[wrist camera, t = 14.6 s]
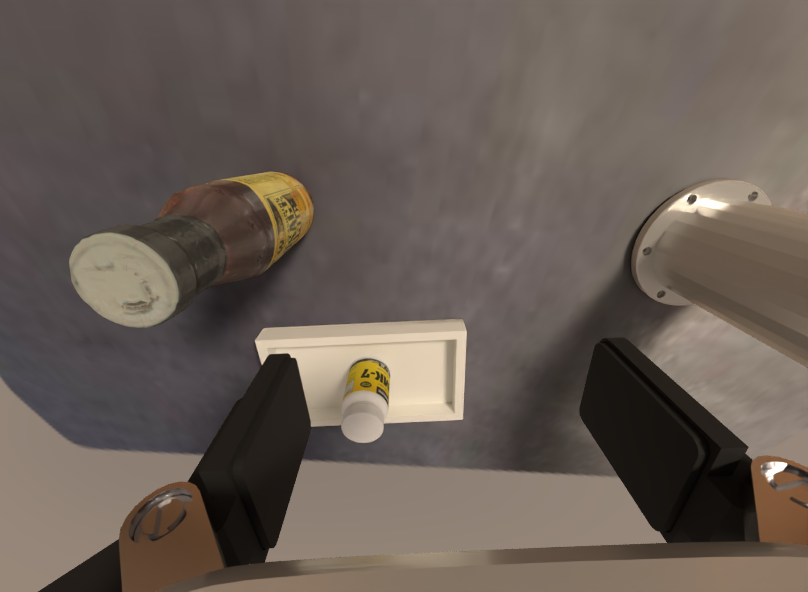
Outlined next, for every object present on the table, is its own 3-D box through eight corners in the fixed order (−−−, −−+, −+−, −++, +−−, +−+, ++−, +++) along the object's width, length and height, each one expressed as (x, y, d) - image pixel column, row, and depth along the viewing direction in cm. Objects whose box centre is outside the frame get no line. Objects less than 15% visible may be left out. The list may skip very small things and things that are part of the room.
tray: (462, 318, 36) (466, 330, 34) (459, 404, 42) (462, 419, 39) (263, 328, 36) (254, 340, 34) (286, 412, 42) (280, 427, 40)
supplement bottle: (397, 366, 38) (397, 423, 31) (376, 393, 40) (371, 453, 32) (362, 348, 37) (352, 402, 29) (342, 376, 39) (328, 434, 31)
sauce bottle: (309, 246, 32) (200, 380, 15) (244, 225, 31) (42, 341, 14) (325, 180, 30) (217, 246, 12) (256, 155, 29) (23, 185, 11)
